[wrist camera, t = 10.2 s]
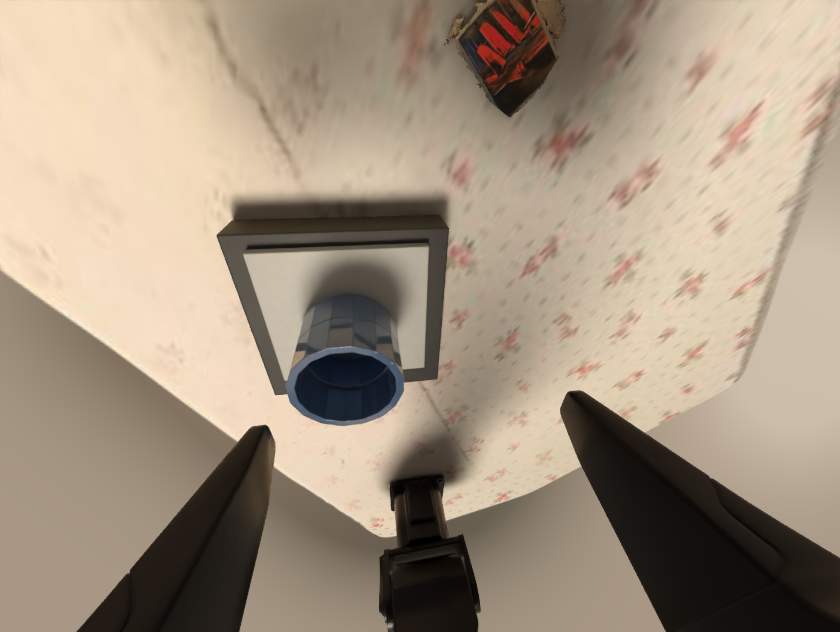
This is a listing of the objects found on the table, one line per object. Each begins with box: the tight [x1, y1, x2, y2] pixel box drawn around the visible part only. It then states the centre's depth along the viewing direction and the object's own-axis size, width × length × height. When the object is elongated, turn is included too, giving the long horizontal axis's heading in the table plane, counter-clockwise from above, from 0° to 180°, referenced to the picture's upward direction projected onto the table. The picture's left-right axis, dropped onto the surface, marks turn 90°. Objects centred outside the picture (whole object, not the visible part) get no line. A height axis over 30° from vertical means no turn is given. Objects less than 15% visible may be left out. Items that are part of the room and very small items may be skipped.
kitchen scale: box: [217, 215, 449, 395], centre depth 20 cm, size 12×12×3 cm
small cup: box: [285, 294, 404, 426], centre depth 17 cm, size 6×6×5 cm
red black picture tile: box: [444, 0, 566, 117], centre depth 14 cm, size 5×5×1 cm
